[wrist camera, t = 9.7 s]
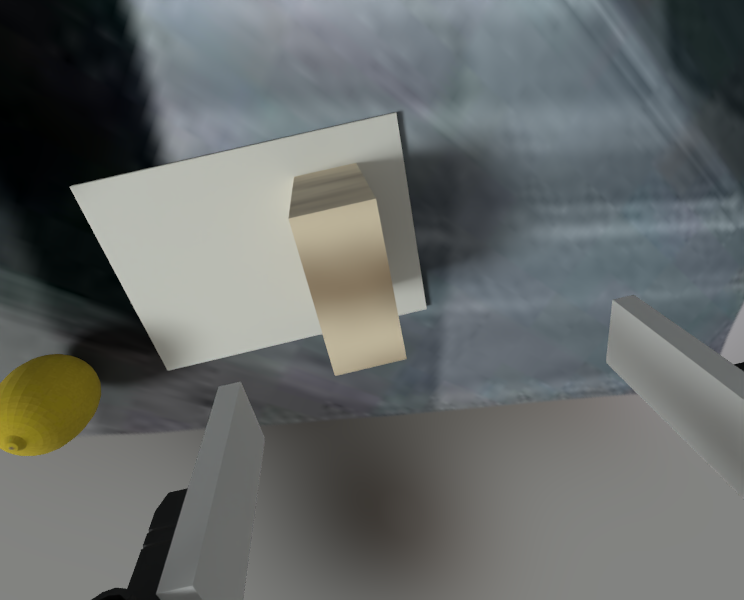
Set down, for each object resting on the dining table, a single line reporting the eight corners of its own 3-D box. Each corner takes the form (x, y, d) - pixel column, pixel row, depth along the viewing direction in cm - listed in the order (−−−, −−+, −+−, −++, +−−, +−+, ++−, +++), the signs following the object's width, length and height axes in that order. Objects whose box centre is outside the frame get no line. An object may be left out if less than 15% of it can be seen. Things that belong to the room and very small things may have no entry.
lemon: (45, 395, 32) (-29, 484, 25) (24, 332, 30) (-63, 411, 23) (124, 394, 33) (75, 480, 26) (111, 333, 31) (52, 409, 24)
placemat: (395, 112, 26) (396, 112, 26) (425, 306, 33) (426, 308, 33) (72, 185, 26) (69, 186, 26) (169, 367, 33) (167, 370, 32)
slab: (381, 287, 31) (406, 358, 23) (327, 300, 31) (334, 375, 23) (356, 162, 27) (376, 198, 19) (293, 176, 27) (288, 218, 19)
